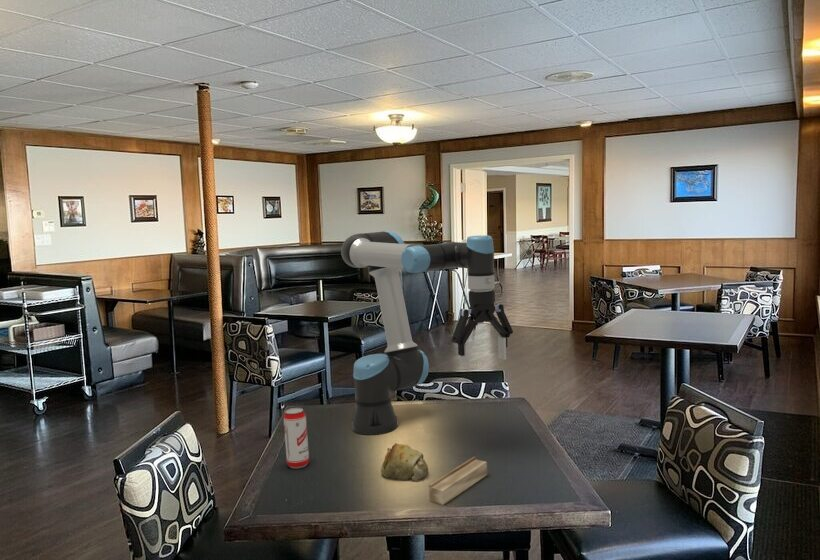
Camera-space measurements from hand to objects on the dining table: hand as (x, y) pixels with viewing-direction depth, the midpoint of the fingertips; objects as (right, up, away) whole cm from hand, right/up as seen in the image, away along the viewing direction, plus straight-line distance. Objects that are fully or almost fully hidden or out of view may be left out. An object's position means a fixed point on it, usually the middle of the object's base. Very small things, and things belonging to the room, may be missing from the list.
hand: (483, 362), depth 179 cm
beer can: (-53, -29, -3) cm, 60 cm away
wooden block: (-9, -28, -23) cm, 38 cm away
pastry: (-23, -28, -12) cm, 38 cm away
